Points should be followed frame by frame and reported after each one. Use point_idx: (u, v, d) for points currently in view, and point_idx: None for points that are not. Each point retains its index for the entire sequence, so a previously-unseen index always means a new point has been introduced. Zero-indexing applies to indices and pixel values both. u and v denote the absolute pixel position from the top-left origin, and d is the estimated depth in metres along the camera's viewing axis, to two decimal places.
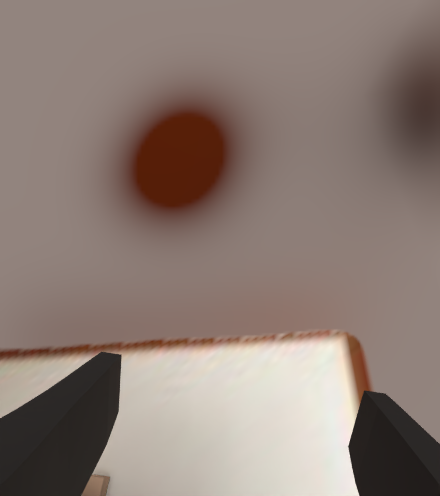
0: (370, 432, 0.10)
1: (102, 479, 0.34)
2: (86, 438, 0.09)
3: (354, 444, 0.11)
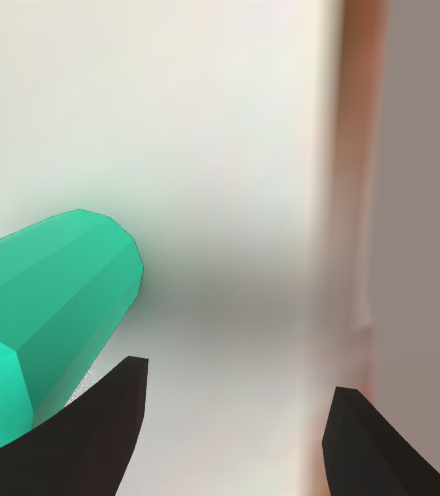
0: (340, 427, 0.10)
1: None
2: (119, 443, 0.09)
3: (327, 440, 0.11)
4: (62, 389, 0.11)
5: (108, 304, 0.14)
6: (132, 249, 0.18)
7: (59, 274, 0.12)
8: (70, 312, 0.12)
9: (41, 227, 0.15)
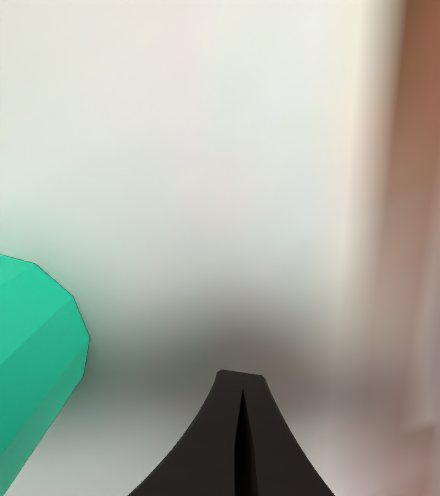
0: (239, 412, 0.10)
1: None
2: None
3: None
4: None
5: None
6: (67, 314, 0.12)
7: None
8: None
9: None
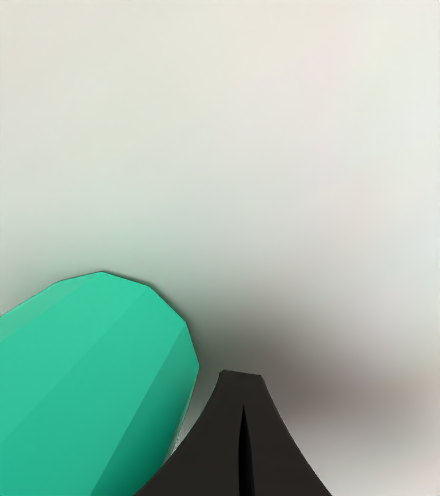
0: None
1: None
2: None
3: None
4: None
5: None
6: (183, 342, 0.11)
7: (29, 488, 0.05)
8: None
9: (23, 328, 0.08)
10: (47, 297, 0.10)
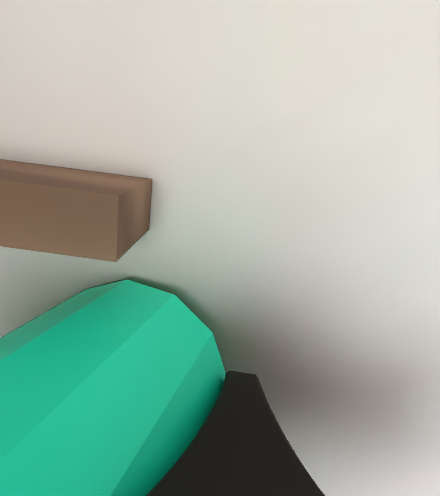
0: None
1: None
2: None
3: None
4: None
5: None
6: (209, 354, 0.10)
7: None
8: None
9: (42, 335, 0.08)
10: (72, 305, 0.10)
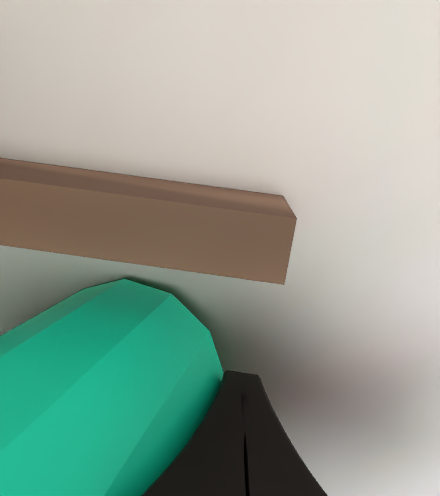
0: None
1: None
2: None
3: None
4: None
5: None
6: (206, 352, 0.10)
7: None
8: None
9: (38, 335, 0.08)
10: (68, 304, 0.10)
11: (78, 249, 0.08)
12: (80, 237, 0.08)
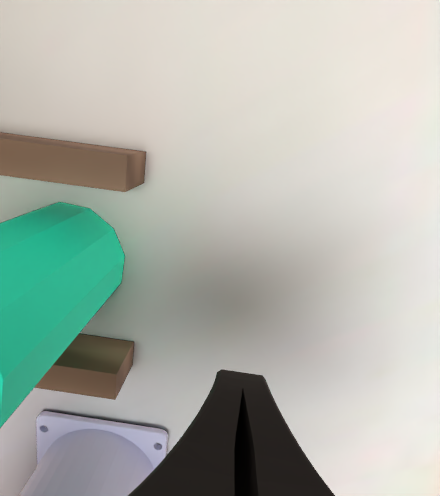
0: (239, 412, 0.10)
1: None
2: None
3: None
4: (35, 362, 0.12)
5: (84, 288, 0.15)
6: (111, 238, 0.19)
7: (33, 258, 0.13)
8: (42, 292, 0.13)
9: (19, 217, 0.16)
10: None
11: (17, 173, 0.16)
12: (18, 167, 0.16)
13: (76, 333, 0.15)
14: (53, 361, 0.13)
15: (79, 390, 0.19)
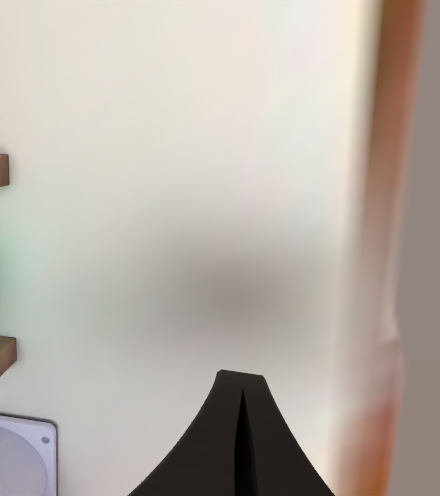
0: (239, 412, 0.10)
1: None
2: None
3: None
4: None
5: None
6: None
7: None
8: None
9: None
10: None
11: None
12: None
13: None
14: None
15: None
